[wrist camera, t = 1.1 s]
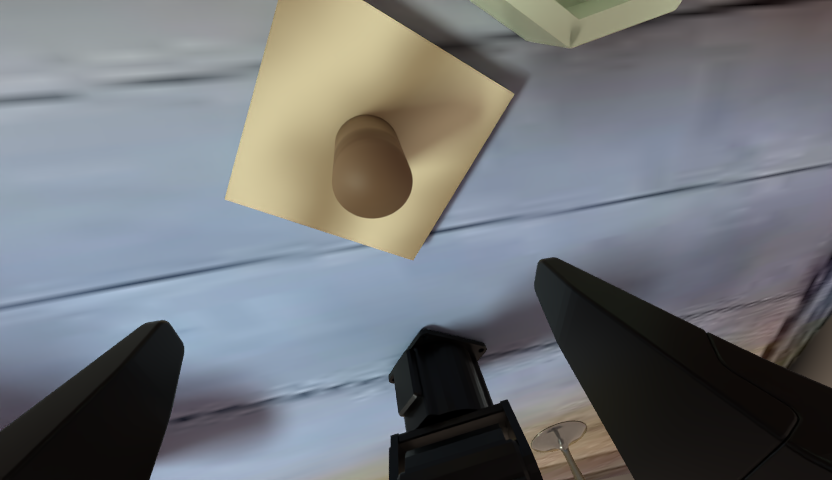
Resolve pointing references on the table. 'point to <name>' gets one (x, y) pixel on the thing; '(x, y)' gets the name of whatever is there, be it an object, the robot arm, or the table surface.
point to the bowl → (572, 17)
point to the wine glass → (561, 442)
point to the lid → (360, 125)
